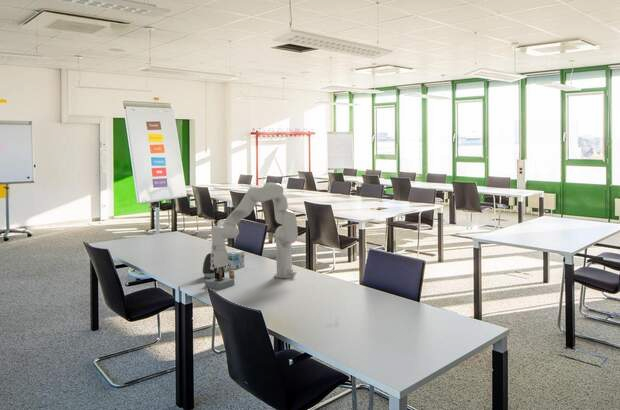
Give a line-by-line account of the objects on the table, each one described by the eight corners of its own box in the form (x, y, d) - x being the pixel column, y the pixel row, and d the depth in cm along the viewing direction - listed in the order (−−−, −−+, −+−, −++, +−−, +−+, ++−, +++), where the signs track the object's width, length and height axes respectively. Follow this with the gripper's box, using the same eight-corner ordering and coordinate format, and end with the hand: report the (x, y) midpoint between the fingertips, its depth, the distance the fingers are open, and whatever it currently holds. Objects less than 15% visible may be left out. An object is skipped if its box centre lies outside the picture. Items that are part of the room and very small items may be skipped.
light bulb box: (233, 269, 326) (233, 253, 324) (226, 268, 330) (226, 252, 328) (244, 266, 334) (244, 250, 333) (237, 265, 338) (237, 249, 337)
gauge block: (234, 284, 289) (234, 279, 288) (219, 289, 279) (219, 283, 278) (220, 281, 295) (219, 276, 295) (205, 286, 286) (204, 280, 285)
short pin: (235, 278, 304) (235, 270, 303) (231, 279, 301) (231, 271, 301) (231, 277, 306) (231, 269, 305) (228, 278, 303) (227, 270, 303)
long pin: (223, 283, 287) (223, 264, 286) (219, 284, 285) (219, 266, 284) (219, 282, 289) (219, 264, 288) (215, 283, 287) (215, 265, 285)
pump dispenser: (222, 275, 311) (221, 251, 309) (215, 279, 301) (214, 255, 299) (207, 274, 313) (206, 251, 312) (199, 278, 303) (198, 254, 302)
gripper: (212, 250, 276) (213, 282, 278) (233, 245, 289) (234, 276, 291) (203, 249, 280) (204, 280, 282) (224, 244, 293) (225, 274, 296)
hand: (219, 277), depth 287 cm, fingers open, 3 cm apart
